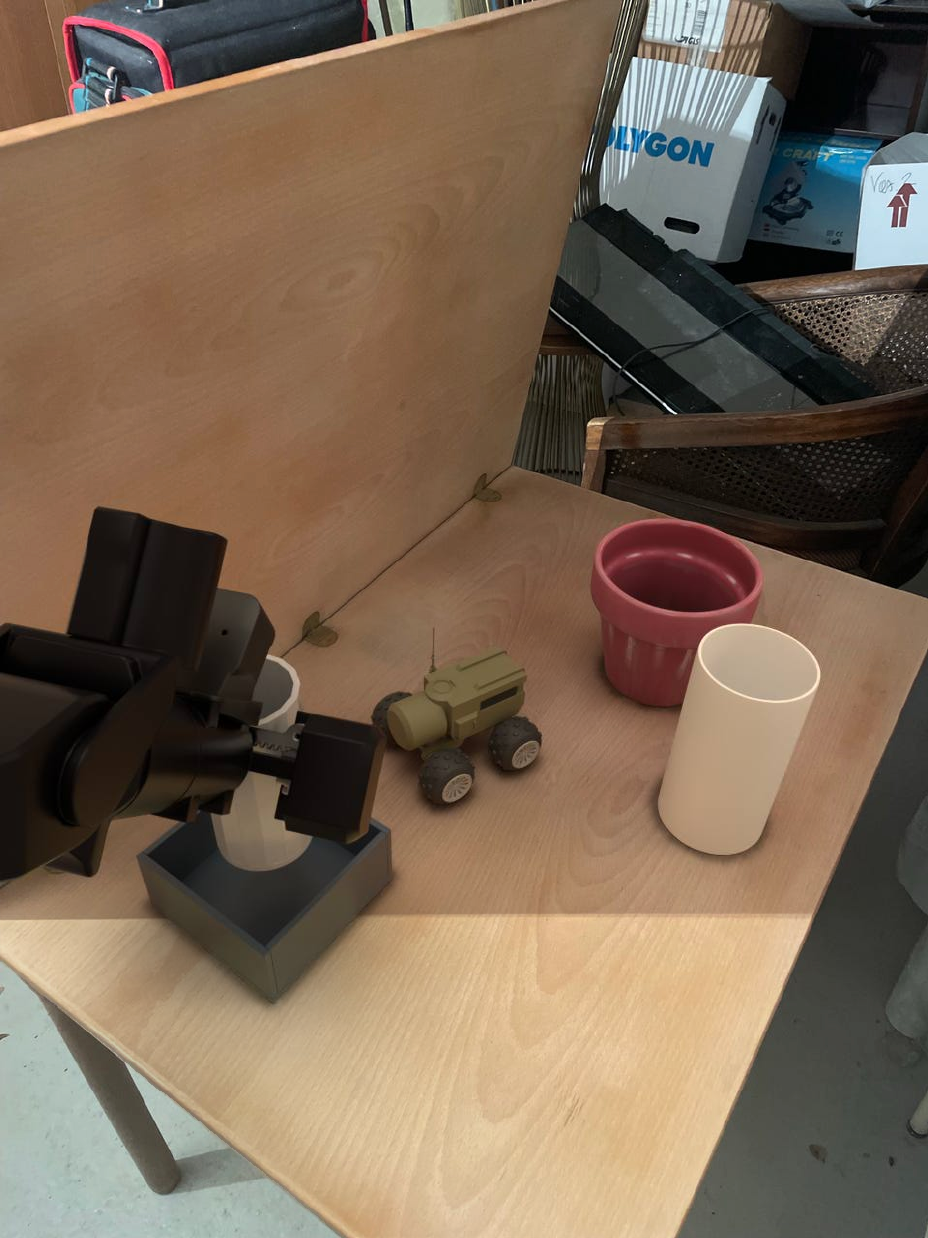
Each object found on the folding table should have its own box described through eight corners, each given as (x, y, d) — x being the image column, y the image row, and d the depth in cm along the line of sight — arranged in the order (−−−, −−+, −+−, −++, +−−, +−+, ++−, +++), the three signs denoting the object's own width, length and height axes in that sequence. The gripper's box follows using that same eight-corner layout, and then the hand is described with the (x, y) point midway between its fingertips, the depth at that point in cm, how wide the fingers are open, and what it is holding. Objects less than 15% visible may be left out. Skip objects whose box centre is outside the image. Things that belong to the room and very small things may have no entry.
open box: (273, 1004, 58) (264, 956, 54) (151, 905, 63) (135, 856, 60) (392, 878, 66) (391, 829, 62) (274, 799, 71) (267, 750, 67)
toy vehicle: (545, 763, 75) (560, 653, 67) (432, 819, 70) (434, 708, 62) (474, 688, 81) (480, 582, 74) (366, 735, 76) (361, 626, 69)
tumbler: (308, 872, 58) (291, 729, 49) (207, 871, 57) (173, 727, 49) (319, 795, 63) (305, 653, 54) (226, 793, 62) (199, 651, 54)
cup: (723, 874, 67) (778, 721, 57) (636, 808, 71) (673, 656, 61) (783, 816, 71) (844, 665, 61) (698, 757, 76) (741, 608, 66)
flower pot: (663, 753, 76) (693, 637, 68) (546, 667, 84) (560, 554, 76) (761, 681, 84) (798, 569, 76) (644, 608, 92) (667, 500, 84)
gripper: (370, 617, 41) (432, 650, 56) (6, 550, 44) (159, 598, 59) (318, 864, 40) (395, 829, 55) (-52, 776, 43) (119, 766, 58)
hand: (264, 748), depth 57 cm, fingers closed on tumbler, 6 cm apart
